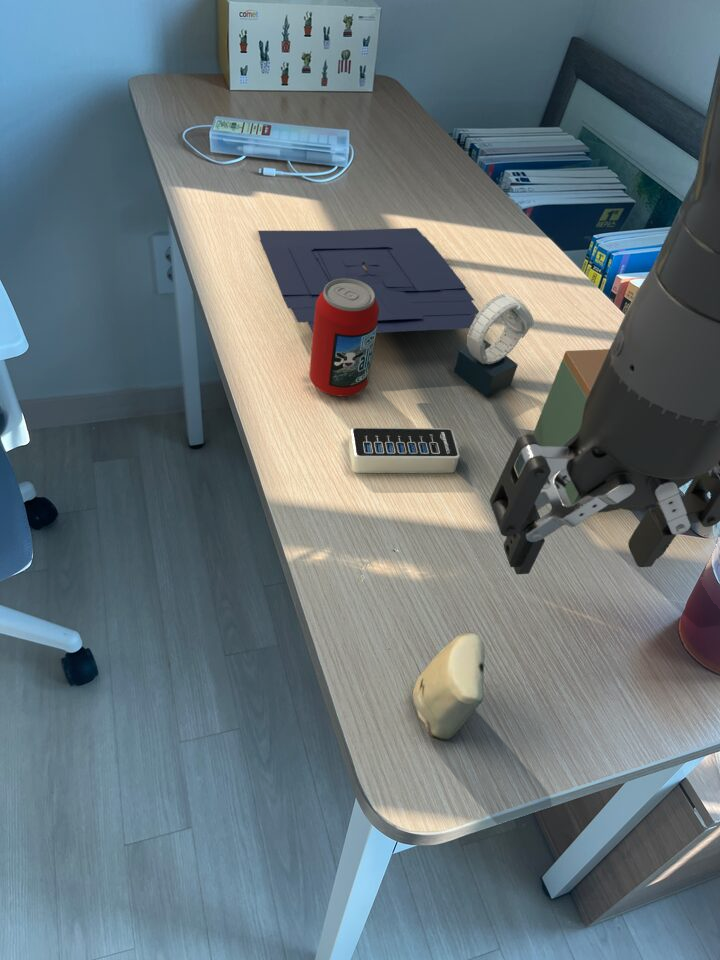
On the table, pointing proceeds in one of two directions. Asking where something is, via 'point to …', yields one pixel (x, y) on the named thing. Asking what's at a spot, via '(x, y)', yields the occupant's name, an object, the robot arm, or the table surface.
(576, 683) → the table surface
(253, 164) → the table surface
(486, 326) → the watch
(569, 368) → the shelf
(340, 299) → the beverage can
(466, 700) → the beige rounded block
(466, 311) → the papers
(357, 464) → the multiport hub
